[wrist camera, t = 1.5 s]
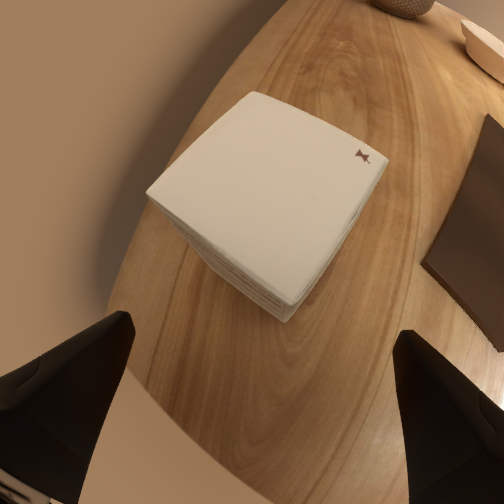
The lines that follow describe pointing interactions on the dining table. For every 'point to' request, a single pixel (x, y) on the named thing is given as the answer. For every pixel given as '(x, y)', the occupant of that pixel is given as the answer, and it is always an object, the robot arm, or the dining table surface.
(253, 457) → the dining table surface
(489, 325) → the board
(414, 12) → the planter
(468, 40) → the bowl
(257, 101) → the white packaging box
